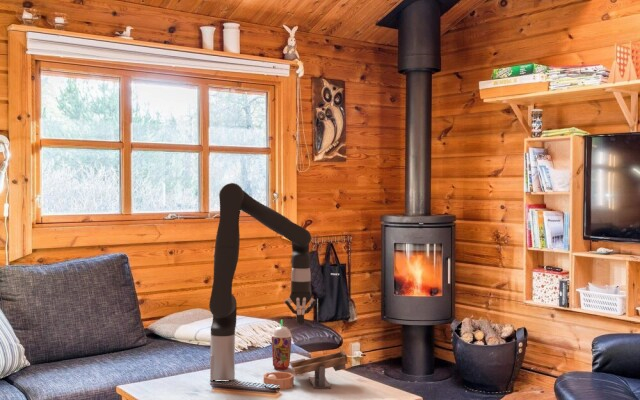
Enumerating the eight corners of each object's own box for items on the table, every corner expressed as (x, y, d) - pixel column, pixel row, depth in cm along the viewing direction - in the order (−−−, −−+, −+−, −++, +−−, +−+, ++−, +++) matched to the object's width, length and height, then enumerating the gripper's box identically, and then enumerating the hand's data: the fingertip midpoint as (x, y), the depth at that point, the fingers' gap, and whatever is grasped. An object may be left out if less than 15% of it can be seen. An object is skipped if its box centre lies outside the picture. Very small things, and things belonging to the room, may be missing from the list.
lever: (296, 380, 265) (293, 366, 265) (291, 369, 282) (288, 355, 281) (348, 368, 268) (346, 354, 268) (340, 358, 285) (338, 345, 284)
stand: (314, 389, 263) (314, 367, 263) (309, 379, 277) (309, 358, 277) (330, 388, 264) (330, 366, 264) (324, 378, 278) (324, 358, 278)
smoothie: (282, 372, 288) (282, 322, 288) (266, 368, 293) (267, 319, 293) (295, 368, 294) (296, 319, 294) (280, 365, 300) (280, 317, 299)
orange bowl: (264, 389, 262) (264, 379, 262) (262, 381, 273) (262, 372, 273) (294, 388, 264) (294, 379, 264) (291, 380, 275) (291, 371, 275)
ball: (279, 380, 267) (271, 387, 266) (278, 378, 270) (271, 384, 270) (272, 373, 266) (265, 380, 266) (272, 371, 270) (265, 377, 269)
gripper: (284, 280, 274) (284, 326, 274) (319, 280, 276) (318, 325, 276) (282, 278, 282) (282, 322, 282) (316, 278, 284) (315, 322, 284)
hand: (300, 324), depth 279 cm, fingers closed
